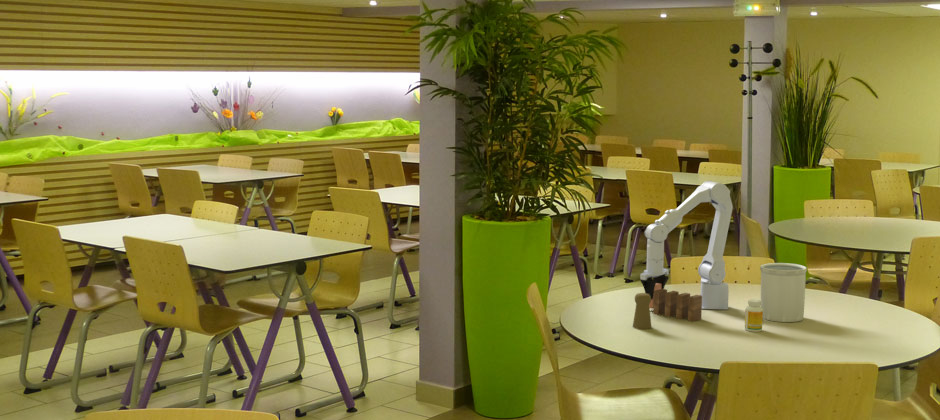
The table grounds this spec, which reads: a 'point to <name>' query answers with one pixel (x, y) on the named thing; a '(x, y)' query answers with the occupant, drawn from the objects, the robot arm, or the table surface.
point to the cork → (642, 311)
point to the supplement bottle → (753, 316)
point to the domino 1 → (657, 287)
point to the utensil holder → (783, 291)
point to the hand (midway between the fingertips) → (654, 297)
